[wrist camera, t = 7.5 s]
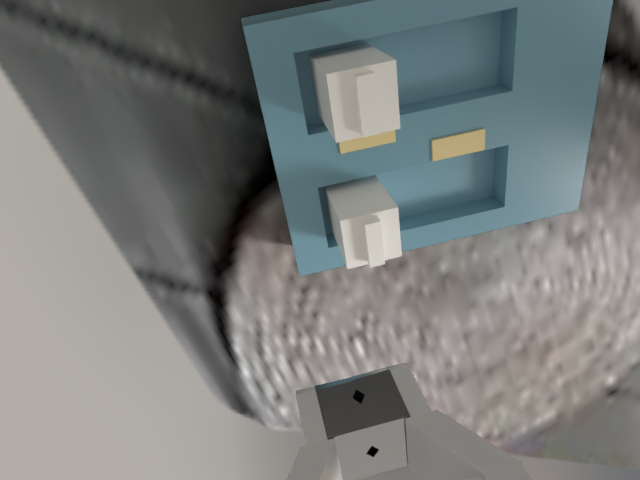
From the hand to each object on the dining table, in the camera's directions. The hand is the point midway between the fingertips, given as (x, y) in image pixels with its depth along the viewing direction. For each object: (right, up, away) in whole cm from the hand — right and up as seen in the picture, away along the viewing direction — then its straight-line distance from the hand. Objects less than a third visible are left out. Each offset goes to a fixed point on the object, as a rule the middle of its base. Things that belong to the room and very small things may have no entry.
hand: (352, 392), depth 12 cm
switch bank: (+5, +11, +16) cm, 20 cm away
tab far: (+1, +6, +15) cm, 17 cm away
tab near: (0, +12, +12) cm, 17 cm away
